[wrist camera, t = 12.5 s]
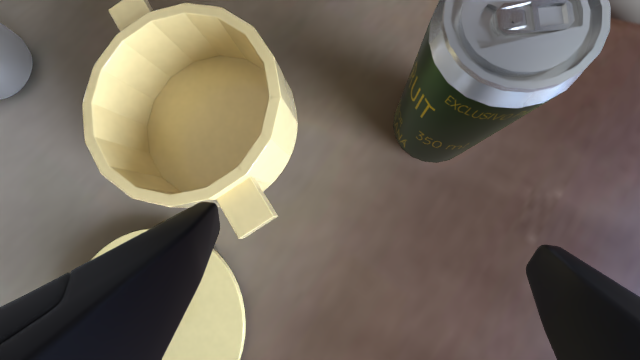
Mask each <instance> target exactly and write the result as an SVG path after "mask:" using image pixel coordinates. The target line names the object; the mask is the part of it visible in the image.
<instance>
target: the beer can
mask: <svg viewBox="0 0 640 360" xmlns="http://www.w3.org/2000/svg"><path fill="white" fill-rule="evenodd" d="M610 8H611V7H610V4H609V1H608V0H440V1H439V3H438V5H437V7H436V9H435V12H434V14H433V16H432V18H431V20H430V23H429V26H428V28H427V31H426V33H425V36H424V39H423V41H422V44H421V47H420V49H419V52H418V54H417V57H416V60H415V62H414V65H413V68H412V70H411V73H410V75H409V78H408V81H407V83H406V86H405V89H404V91H403V94H402V96H401V99H400V102H399V104H398V107H397V110H396V112H395V115H394V124H393V128H394V132H395V136H396V139H397V141H398V142H399V144H400V145H401V147H402V149H404V150H405V151H406V152H407V153H408V154H410V155H411V156H412V157H414V158H417V159H419V160H421V161H425V162H435V163H437V162H442V161H447V160H450V159H452V158H454V157H455V156H457V155H459V154H461V153H463V152H464V151H466V150H468V149H469V148H471V147H473V146H474V145H476V144H477V143H479V142H481V141H482V140H484V139H486V138H487V137H489V136H491V135H492V134H494V133H496V132H497V131H499V130H501V129H502V128H504V127H506V126H507V125H509V124H511V123H512V122H514V121H516V120H517V119H519V118H521V117H522V116H524V115H526V114H527V113H529V112H531V111H532V110H534V109H536V108H537V107H539V106H541V105H542V104H544V103H546V102H547V101H549V100H551V99H552V98H554V97H556V96H557V95H559V94H561V93H562V92H564V91H566V90H567V89H568V88H569V86H570V85H571V84H572V83H573V82H574V81H575V80H576V79H577V78H578V77H579V76H580V75H581V73H582V72H583V71H584V70H585V69H586V67H587V66H588V65H589V64H590V63H591V62H592V61H593V60H594V59H595V58H596V57H597V56H598V54H599V53H600V52H601V50H602V48H603V45H604V43H605V41H606V38H607V36H608V33H609V31H610Z"/></svg>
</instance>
